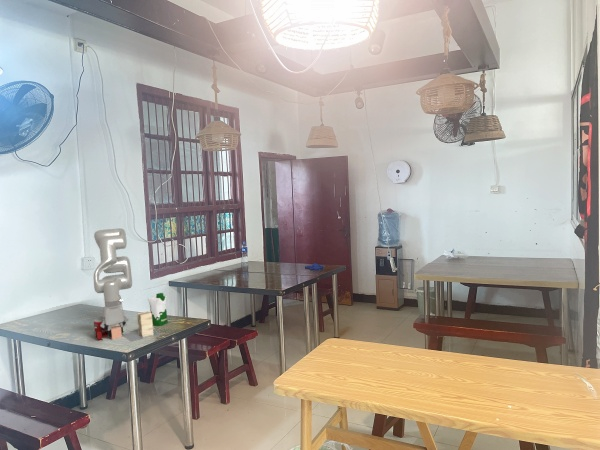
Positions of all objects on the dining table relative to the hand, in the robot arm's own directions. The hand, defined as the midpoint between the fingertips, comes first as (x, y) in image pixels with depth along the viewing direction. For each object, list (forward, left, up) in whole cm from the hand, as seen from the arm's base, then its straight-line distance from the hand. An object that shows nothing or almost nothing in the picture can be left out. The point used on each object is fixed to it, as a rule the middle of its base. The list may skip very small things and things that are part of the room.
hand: (115, 335), depth 239 cm
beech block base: (+9, +14, -1) cm, 16 cm away
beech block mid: (+9, +14, +5) cm, 17 cm away
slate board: (+6, +12, -3) cm, 13 cm away
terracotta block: (0, 0, -2) cm, 2 cm away
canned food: (-10, -4, -3) cm, 12 cm away
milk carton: (-6, +27, -3) cm, 28 cm away
